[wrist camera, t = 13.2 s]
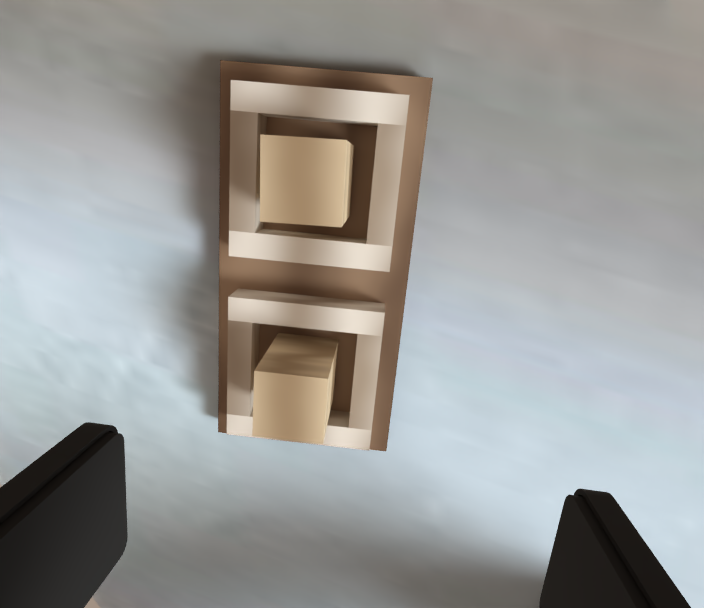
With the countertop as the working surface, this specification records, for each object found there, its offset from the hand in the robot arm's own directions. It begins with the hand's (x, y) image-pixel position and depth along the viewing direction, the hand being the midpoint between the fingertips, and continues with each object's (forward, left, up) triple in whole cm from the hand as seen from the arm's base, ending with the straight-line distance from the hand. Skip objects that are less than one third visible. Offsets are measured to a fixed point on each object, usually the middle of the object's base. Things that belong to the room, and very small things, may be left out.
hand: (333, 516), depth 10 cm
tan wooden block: (+3, -6, -21) cm, 22 cm away
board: (+4, 0, -22) cm, 22 cm away
